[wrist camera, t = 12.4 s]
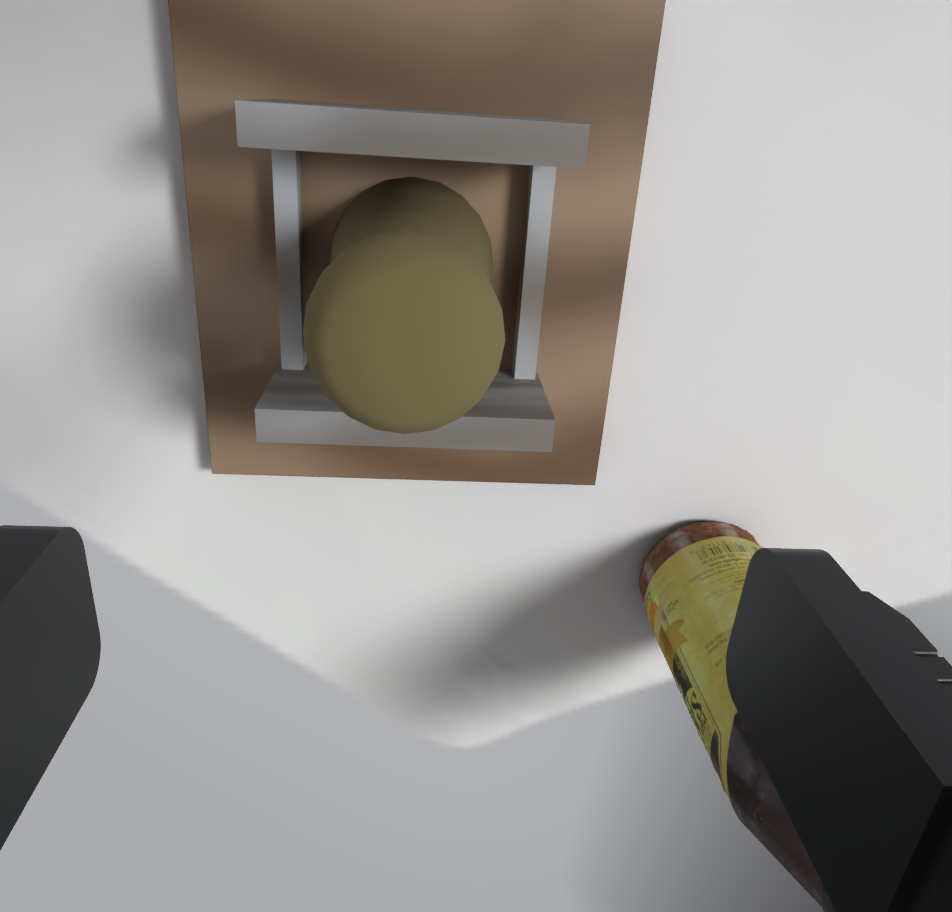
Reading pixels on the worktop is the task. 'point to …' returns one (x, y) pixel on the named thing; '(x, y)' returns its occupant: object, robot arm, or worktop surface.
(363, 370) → the olive rounded bulbous part
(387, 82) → the shaker holder
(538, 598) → the worktop surface
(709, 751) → the sauce bottle
